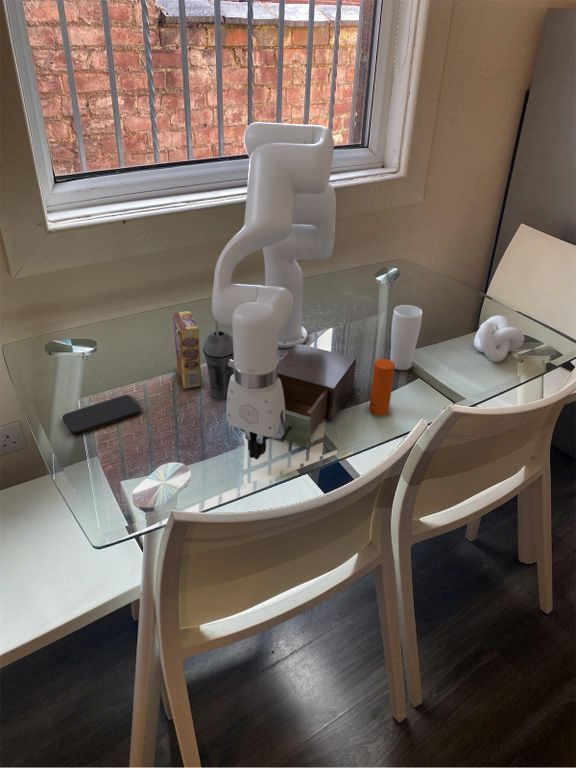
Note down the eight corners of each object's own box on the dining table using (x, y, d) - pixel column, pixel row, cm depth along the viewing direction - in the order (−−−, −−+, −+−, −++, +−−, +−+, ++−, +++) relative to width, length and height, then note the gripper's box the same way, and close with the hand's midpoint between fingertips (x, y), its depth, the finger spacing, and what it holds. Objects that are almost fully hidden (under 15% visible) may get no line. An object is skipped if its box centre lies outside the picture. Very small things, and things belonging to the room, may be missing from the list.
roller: (366, 412, 132) (371, 366, 125) (372, 402, 135) (378, 356, 128) (385, 417, 130) (391, 371, 124) (390, 407, 133) (397, 361, 127)
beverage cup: (243, 387, 139) (240, 309, 128) (230, 405, 133) (226, 325, 122) (214, 381, 141) (209, 304, 130) (200, 398, 135) (194, 319, 124)
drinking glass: (414, 374, 145) (422, 319, 136) (385, 371, 146) (392, 315, 138) (414, 360, 150) (423, 306, 142) (387, 357, 151) (394, 303, 143)
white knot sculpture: (459, 344, 157) (465, 314, 152) (498, 338, 160) (505, 308, 155) (483, 366, 148) (491, 335, 143) (524, 359, 151) (533, 328, 146)
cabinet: (331, 421, 129) (333, 388, 124) (270, 403, 134) (270, 371, 129) (353, 389, 139) (356, 358, 134) (296, 374, 144) (296, 343, 139)
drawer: (299, 460, 117) (299, 432, 113) (238, 440, 121) (237, 413, 118) (331, 414, 129) (333, 388, 126) (275, 398, 134) (275, 372, 130)
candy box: (203, 386, 139) (199, 328, 131) (184, 389, 138) (179, 331, 129) (194, 366, 146) (190, 310, 138) (177, 369, 145) (171, 312, 136)
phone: (141, 410, 130) (71, 433, 122) (142, 413, 130) (72, 436, 123) (128, 393, 135) (60, 414, 127) (129, 396, 135) (61, 418, 128)
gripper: (207, 372, 104) (212, 454, 114) (285, 394, 99) (284, 478, 109) (229, 352, 110) (232, 432, 120) (304, 372, 104) (301, 454, 114)
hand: (257, 454), depth 114 cm, fingers closed
